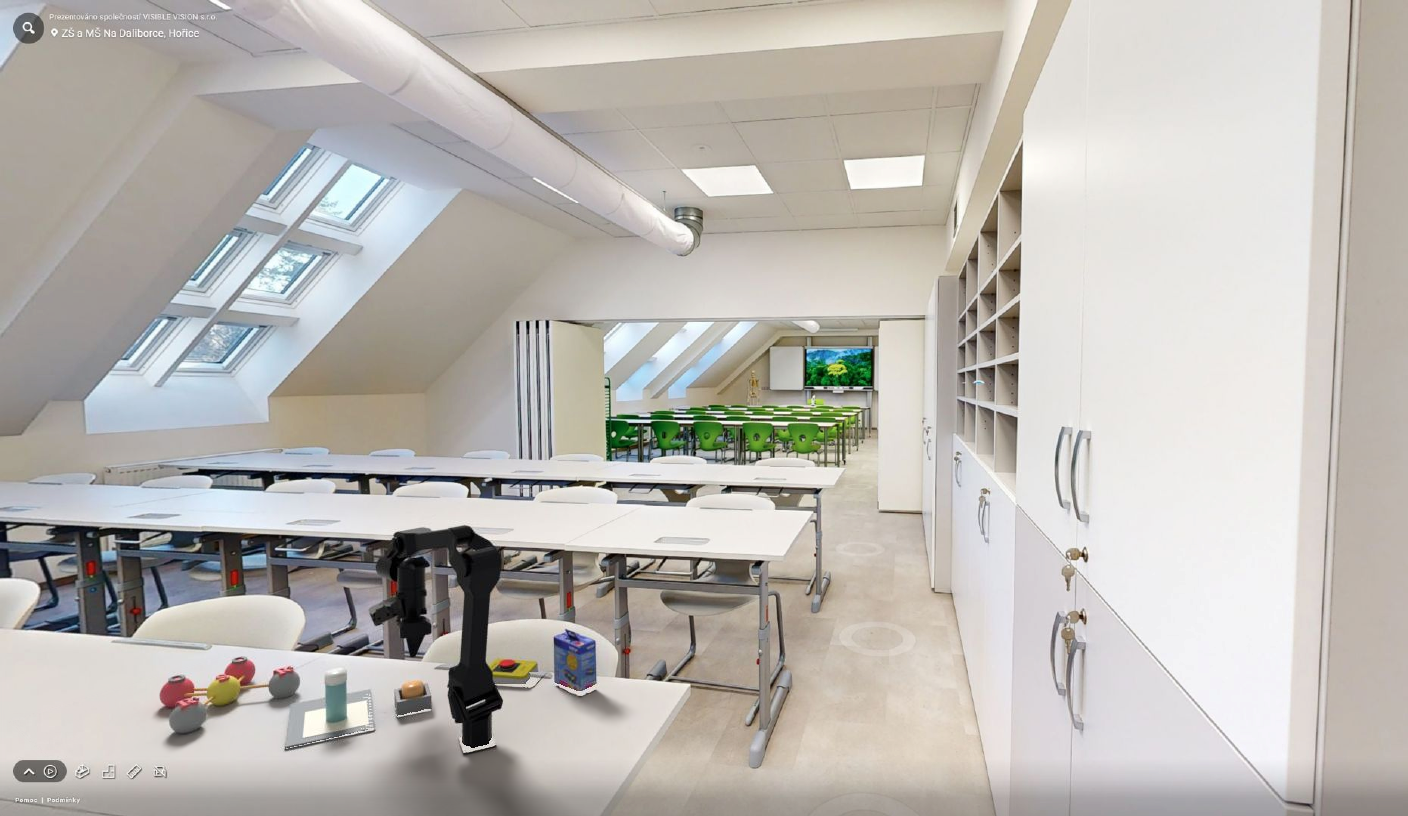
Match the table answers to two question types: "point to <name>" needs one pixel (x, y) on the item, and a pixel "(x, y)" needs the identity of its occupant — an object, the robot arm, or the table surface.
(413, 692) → the button
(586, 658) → the ink cartridge box
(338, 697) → the white-capped teal tube
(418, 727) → the table surface
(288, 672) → the molecule model
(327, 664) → the table surface
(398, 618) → the robot arm
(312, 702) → the drawing board
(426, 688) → the button housing
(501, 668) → the emergency button
